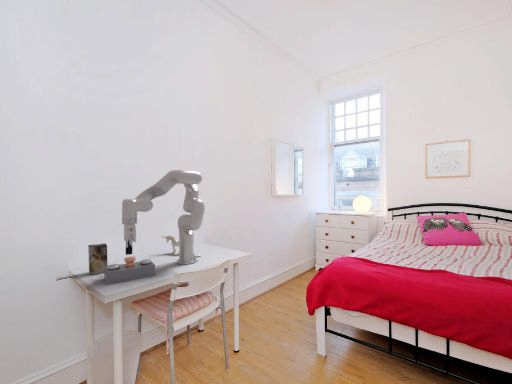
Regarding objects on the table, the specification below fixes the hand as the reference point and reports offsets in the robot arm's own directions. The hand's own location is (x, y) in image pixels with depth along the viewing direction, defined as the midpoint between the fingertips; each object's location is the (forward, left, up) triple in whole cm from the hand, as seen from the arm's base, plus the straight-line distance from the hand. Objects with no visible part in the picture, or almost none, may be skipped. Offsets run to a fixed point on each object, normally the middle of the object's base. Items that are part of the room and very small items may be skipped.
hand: (128, 254), depth 145 cm
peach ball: (-1, 0, -8) cm, 8 cm away
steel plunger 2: (-9, 0, -11) cm, 14 cm away
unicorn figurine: (-36, -33, -13) cm, 51 cm away
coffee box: (+13, -19, -13) cm, 26 cm away
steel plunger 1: (+7, 0, -11) cm, 13 cm away
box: (-1, 0, -13) cm, 13 cm away
